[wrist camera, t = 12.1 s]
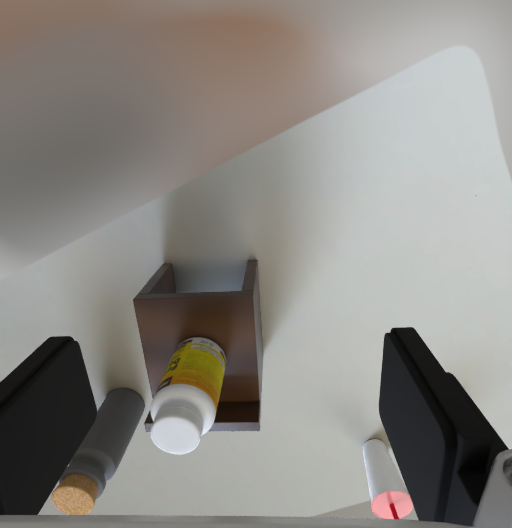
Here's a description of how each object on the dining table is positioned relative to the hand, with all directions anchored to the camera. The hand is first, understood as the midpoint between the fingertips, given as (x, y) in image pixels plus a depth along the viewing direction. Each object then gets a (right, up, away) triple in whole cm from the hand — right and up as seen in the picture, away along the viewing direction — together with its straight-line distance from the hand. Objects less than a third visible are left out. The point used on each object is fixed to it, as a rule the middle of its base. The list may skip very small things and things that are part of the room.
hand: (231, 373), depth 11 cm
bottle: (-19, -17, +42) cm, 49 cm away
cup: (+19, -24, +43) cm, 53 cm away
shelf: (-5, -3, +36) cm, 36 cm away
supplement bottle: (-5, -6, +27) cm, 28 cm away
